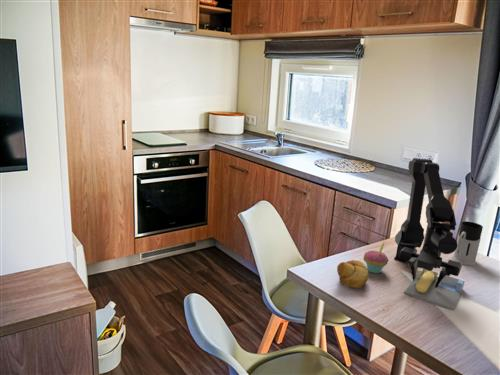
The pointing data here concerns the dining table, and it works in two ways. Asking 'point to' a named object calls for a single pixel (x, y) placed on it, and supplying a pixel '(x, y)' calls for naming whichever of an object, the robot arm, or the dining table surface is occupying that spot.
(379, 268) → the cupcake
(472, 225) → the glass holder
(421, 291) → the yellow pill shape
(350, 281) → the bread roll
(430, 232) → the robot arm
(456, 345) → the dining table surface
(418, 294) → the capsule display stand
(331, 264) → the dining table surface
